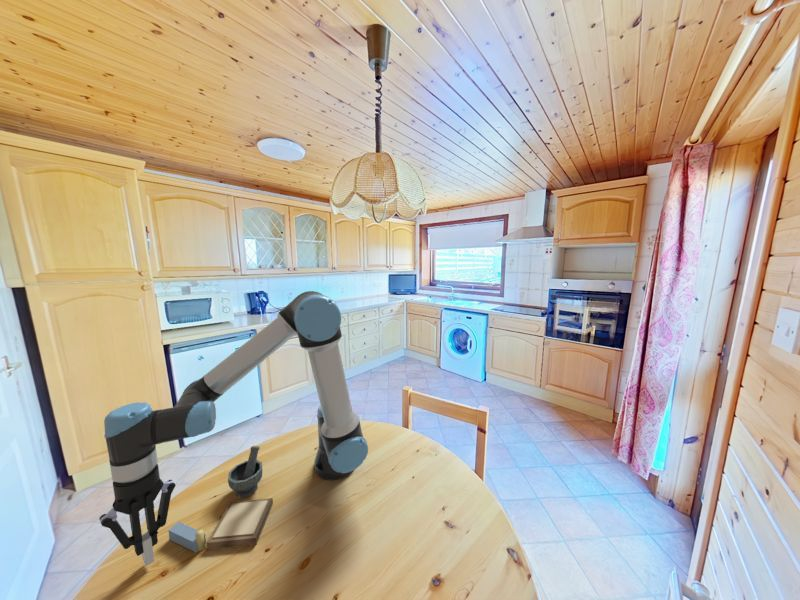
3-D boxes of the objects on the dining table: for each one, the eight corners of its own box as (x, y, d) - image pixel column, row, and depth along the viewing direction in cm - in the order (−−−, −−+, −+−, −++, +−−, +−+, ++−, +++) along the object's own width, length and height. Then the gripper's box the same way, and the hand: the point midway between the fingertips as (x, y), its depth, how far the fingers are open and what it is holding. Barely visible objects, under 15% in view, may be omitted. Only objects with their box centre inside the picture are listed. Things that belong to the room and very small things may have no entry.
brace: (208, 543, 70) (206, 529, 69) (198, 553, 68) (196, 538, 67) (179, 530, 73) (178, 516, 73) (169, 539, 71) (167, 524, 70)
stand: (273, 504, 82) (272, 497, 81) (256, 544, 70) (255, 536, 70) (231, 507, 81) (230, 500, 80) (207, 549, 69) (206, 541, 68)
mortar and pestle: (249, 505, 81) (246, 469, 80) (222, 501, 83) (218, 465, 81) (272, 476, 93) (270, 444, 91) (247, 473, 94) (245, 441, 92)
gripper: (166, 449, 69) (176, 529, 72) (90, 483, 59) (105, 575, 62) (177, 461, 65) (187, 545, 68) (97, 499, 54) (113, 598, 58)
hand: (148, 560), depth 65 cm, fingers closed
